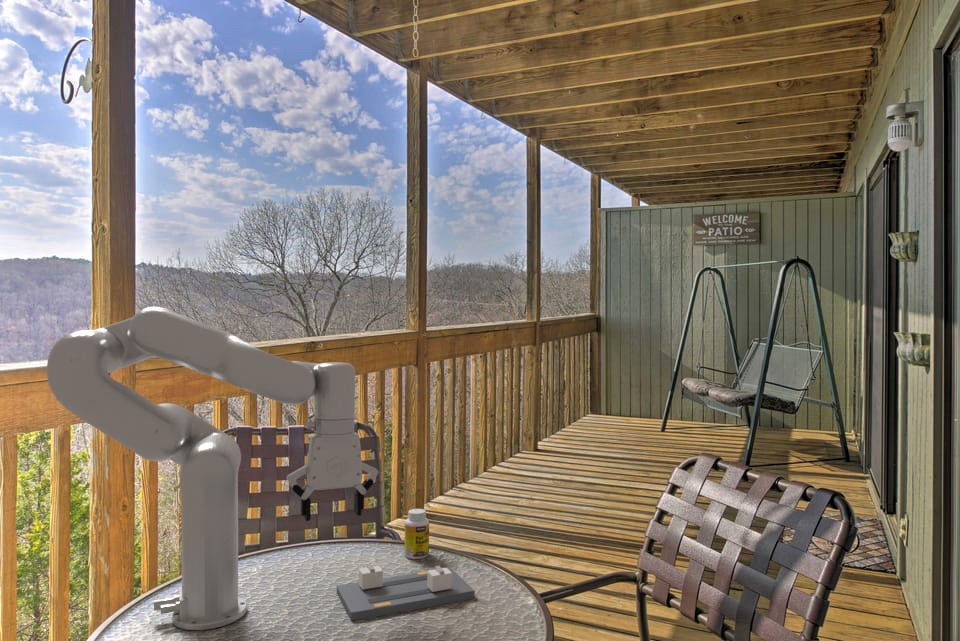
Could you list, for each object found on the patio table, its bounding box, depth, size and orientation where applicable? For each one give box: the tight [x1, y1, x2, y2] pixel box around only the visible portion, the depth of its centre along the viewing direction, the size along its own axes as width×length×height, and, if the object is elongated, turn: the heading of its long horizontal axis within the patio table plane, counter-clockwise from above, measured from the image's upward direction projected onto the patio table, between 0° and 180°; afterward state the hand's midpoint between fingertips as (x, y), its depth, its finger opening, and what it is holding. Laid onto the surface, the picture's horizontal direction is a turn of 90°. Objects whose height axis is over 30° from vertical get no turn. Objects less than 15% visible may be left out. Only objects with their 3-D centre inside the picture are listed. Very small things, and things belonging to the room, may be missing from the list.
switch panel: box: [336, 567, 476, 622], centre depth 128 cm, size 24×13×2 cm, turn 114°
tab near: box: [427, 565, 452, 592], centre depth 127 cm, size 4×3×4 cm
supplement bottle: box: [404, 508, 430, 560], centre depth 150 cm, size 6×6×10 cm
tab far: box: [358, 563, 384, 590], centre depth 128 cm, size 4×3×4 cm
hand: (332, 516), depth 126 cm, fingers open, 9 cm apart
